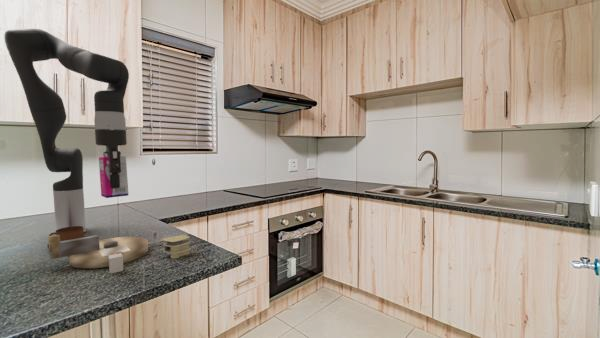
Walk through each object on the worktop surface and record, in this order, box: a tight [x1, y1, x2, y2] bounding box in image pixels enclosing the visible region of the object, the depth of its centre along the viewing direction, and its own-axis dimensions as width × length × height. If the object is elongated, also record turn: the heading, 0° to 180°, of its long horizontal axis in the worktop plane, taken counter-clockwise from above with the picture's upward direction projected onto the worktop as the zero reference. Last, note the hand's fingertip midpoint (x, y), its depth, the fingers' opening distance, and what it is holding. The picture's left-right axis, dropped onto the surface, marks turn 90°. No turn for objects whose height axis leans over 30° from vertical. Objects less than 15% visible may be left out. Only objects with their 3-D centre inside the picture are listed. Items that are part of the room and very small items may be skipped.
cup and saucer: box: [46, 226, 89, 249], centre depth 99 cm, size 12×12×6 cm
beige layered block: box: [162, 234, 192, 259], centre depth 90 cm, size 10×9×6 cm
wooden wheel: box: [48, 234, 149, 269], centre depth 88 cm, size 24×20×9 cm
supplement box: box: [98, 155, 129, 199], centre depth 85 cm, size 6×6×12 cm
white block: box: [108, 253, 124, 274], centre depth 80 cm, size 5×3×4 cm, turn 37°
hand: (113, 186), depth 85 cm, fingers closed on supplement box, 6 cm apart
